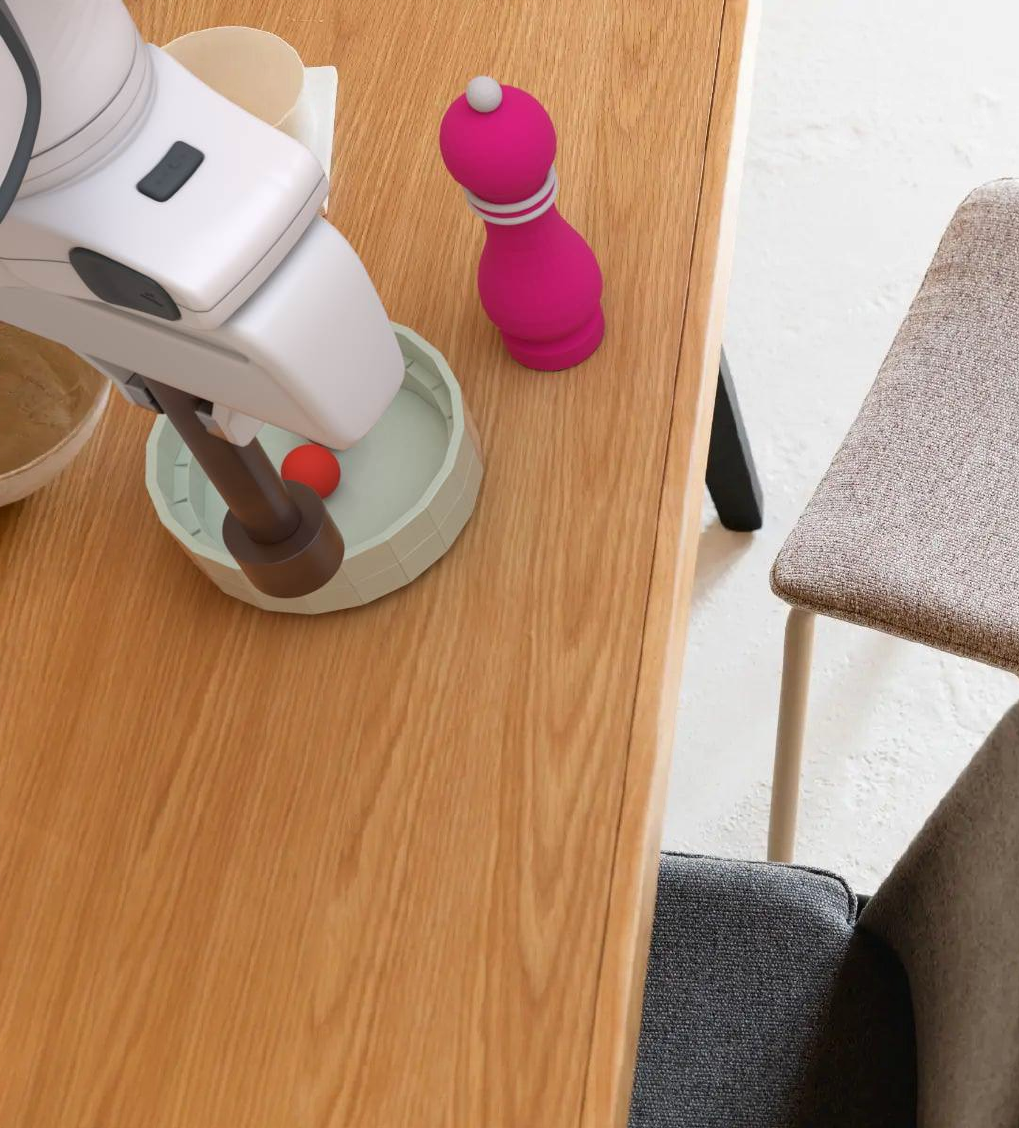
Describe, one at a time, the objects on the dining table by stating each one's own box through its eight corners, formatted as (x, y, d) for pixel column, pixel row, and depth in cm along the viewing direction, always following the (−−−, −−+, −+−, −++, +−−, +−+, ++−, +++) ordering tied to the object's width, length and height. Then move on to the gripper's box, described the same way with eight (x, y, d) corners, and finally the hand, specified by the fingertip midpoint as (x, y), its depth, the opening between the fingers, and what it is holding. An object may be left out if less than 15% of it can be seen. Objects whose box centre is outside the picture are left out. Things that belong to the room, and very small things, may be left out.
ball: (297, 432, 83) (316, 433, 86) (260, 475, 83) (280, 475, 86) (342, 470, 83) (359, 470, 87) (304, 514, 84) (323, 511, 87)
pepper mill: (490, 381, 91) (399, 136, 73) (500, 287, 94) (415, 32, 77) (610, 376, 91) (547, 130, 73) (615, 283, 94) (556, 27, 77)
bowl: (381, 664, 82) (350, 618, 77) (124, 554, 85) (79, 504, 80) (539, 424, 89) (520, 368, 84) (297, 332, 93) (265, 274, 88)
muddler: (309, 613, 66) (162, 392, 52) (226, 578, 67) (60, 353, 53) (364, 534, 68) (237, 302, 54) (282, 502, 69) (137, 266, 55)
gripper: (-304, 116, 47) (-67, 387, 59) (242, 318, 42) (378, 566, 54) (-160, -8, 50) (38, 274, 62) (364, 168, 45) (468, 435, 57)
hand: (201, 412), depth 58 cm, fingers closed on muddler, 2 cm apart
